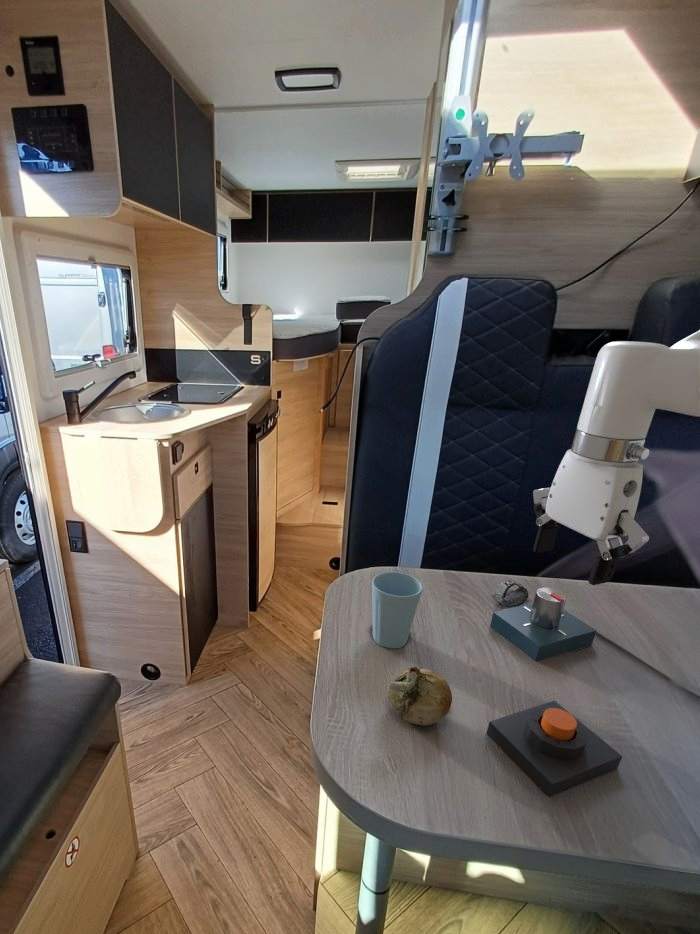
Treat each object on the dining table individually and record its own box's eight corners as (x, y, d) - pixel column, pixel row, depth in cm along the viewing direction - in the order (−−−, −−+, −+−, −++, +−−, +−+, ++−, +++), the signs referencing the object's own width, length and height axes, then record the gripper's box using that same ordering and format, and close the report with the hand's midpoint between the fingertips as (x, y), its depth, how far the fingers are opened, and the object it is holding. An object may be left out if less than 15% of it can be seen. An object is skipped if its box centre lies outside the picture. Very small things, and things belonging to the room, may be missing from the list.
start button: (555, 715, 65) (559, 704, 64) (580, 736, 62) (584, 725, 61) (533, 722, 64) (537, 712, 63) (557, 744, 61) (561, 733, 60)
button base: (550, 712, 70) (557, 689, 69) (617, 769, 62) (627, 745, 60) (485, 734, 67) (492, 710, 65) (547, 797, 58) (556, 772, 57)
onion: (439, 745, 65) (450, 696, 61) (378, 722, 68) (385, 674, 65) (452, 707, 71) (462, 661, 67) (395, 688, 74) (402, 642, 71)
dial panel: (543, 613, 92) (547, 598, 91) (591, 645, 84) (597, 629, 83) (489, 626, 88) (493, 611, 87) (535, 661, 80) (540, 645, 79)
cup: (362, 624, 88) (368, 570, 84) (407, 625, 88) (415, 571, 84) (369, 652, 81) (376, 596, 77) (418, 653, 82) (428, 597, 77)
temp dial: (523, 616, 86) (530, 588, 84) (543, 611, 87) (551, 584, 85) (544, 630, 82) (552, 602, 80) (565, 625, 84) (573, 597, 81)
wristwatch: (512, 613, 94) (532, 594, 94) (495, 597, 93) (516, 578, 92) (503, 606, 97) (522, 587, 96) (486, 590, 96) (506, 571, 95)
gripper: (695, 464, 59) (645, 592, 67) (572, 429, 74) (542, 537, 81) (649, 470, 57) (602, 602, 64) (531, 432, 71) (504, 543, 79)
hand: (568, 566), depth 73 cm, fingers open, 9 cm apart
